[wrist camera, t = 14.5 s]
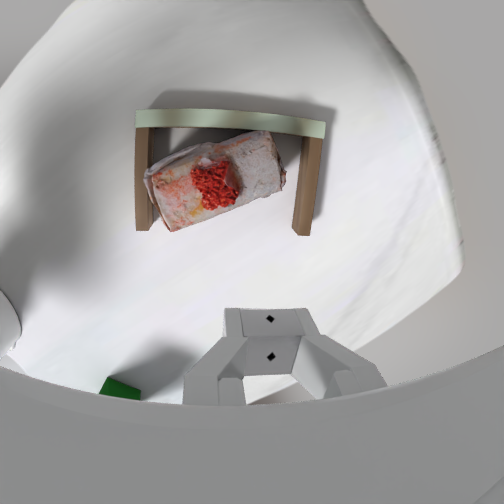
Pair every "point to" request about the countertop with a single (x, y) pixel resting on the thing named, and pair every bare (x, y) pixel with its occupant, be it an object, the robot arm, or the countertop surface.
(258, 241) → the countertop surface
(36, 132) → the countertop surface
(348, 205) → the countertop surface
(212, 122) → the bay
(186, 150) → the food item
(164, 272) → the countertop surface
